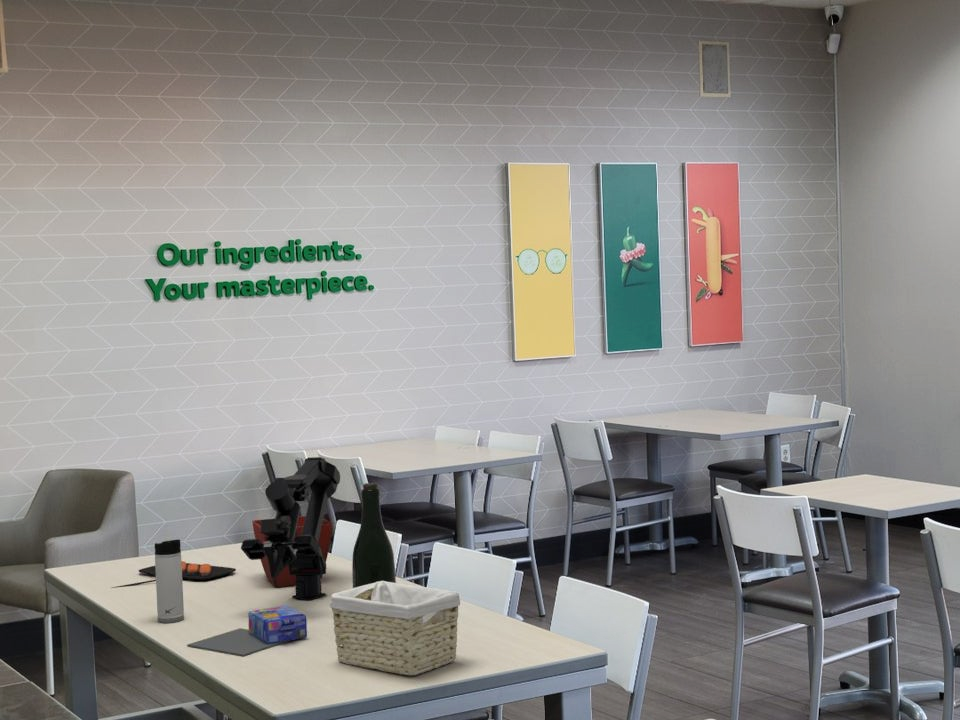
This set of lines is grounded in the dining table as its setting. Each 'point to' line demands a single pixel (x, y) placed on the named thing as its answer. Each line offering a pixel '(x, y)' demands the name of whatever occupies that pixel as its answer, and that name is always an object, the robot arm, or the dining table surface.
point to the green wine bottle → (372, 543)
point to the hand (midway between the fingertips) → (273, 577)
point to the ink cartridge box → (277, 624)
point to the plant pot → (323, 541)
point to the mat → (234, 643)
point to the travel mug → (169, 581)
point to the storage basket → (396, 627)
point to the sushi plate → (190, 572)
